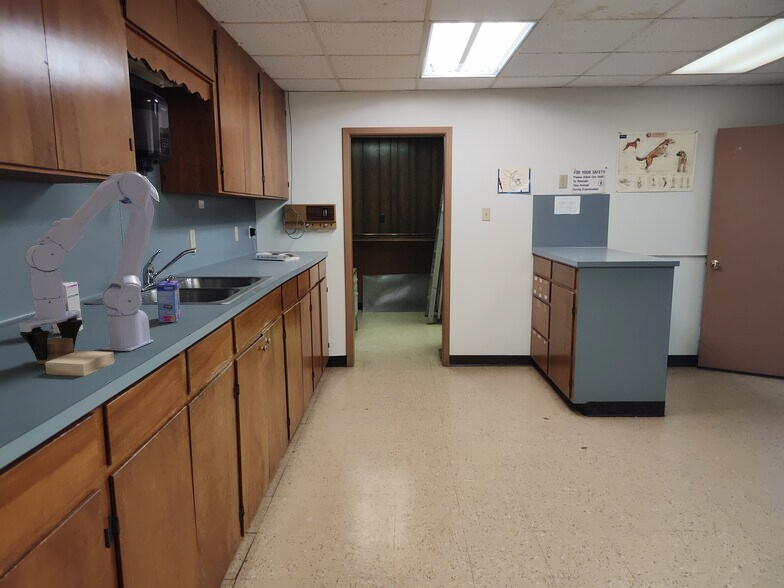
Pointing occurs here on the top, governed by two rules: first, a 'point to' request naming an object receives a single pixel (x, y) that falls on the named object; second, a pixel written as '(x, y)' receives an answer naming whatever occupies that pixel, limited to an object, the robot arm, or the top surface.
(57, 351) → the walnut cube
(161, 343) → the top surface
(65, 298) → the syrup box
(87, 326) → the top surface
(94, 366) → the maple block
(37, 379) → the top surface
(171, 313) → the ink cartridge box
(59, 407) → the top surface
